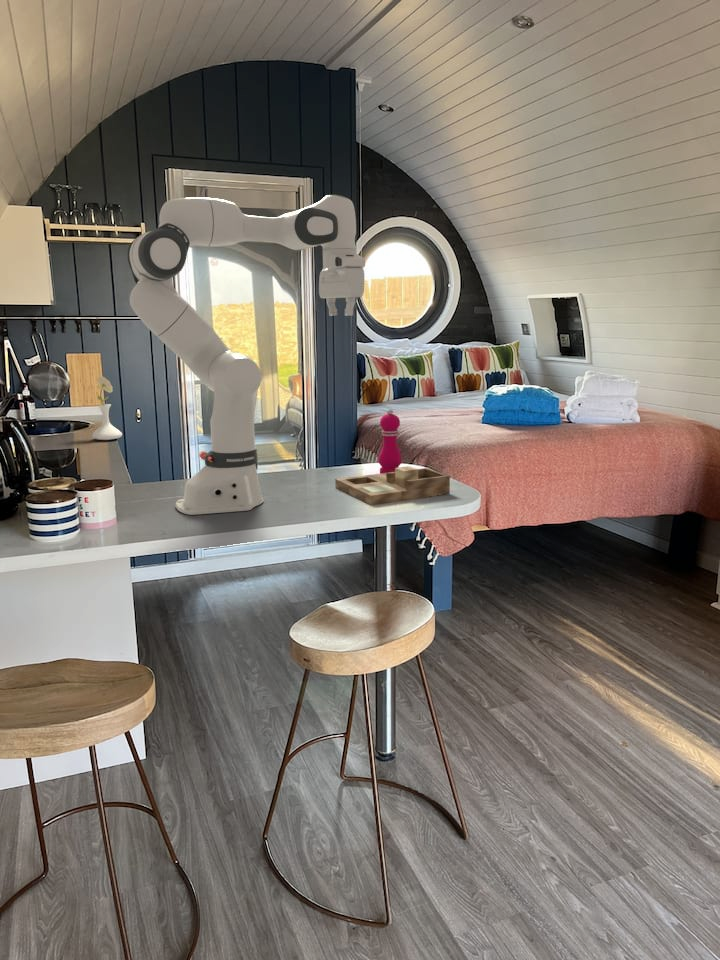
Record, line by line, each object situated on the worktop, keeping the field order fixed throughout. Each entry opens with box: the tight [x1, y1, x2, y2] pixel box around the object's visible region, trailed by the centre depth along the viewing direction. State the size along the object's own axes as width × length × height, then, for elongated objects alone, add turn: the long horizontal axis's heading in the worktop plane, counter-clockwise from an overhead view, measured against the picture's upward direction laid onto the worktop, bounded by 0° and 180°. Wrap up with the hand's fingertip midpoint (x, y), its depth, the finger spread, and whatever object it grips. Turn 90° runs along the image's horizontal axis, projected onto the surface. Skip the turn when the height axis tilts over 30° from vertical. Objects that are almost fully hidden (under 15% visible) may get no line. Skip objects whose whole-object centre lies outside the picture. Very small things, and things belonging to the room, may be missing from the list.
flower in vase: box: [91, 375, 123, 441], centre depth 294 cm, size 13×11×25 cm
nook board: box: [334, 467, 451, 506], centre depth 206 cm, size 24×22×5 cm
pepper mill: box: [377, 408, 403, 474], centre depth 226 cm, size 7×7×20 cm
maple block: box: [395, 465, 419, 487], centre depth 202 cm, size 4×4×4 cm
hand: (340, 315), depth 198 cm, fingers open, 8 cm apart
